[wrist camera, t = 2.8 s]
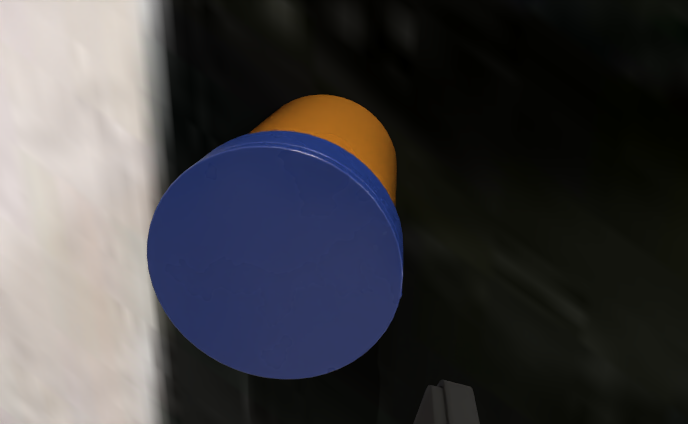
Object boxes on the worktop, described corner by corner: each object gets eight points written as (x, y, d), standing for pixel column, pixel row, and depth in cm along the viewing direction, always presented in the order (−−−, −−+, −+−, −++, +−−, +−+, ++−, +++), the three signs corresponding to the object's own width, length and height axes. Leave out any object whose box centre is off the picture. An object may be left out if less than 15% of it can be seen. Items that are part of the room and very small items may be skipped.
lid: (435, 166, 15) (439, 186, 13) (372, 367, 17) (369, 405, 15) (187, 102, 15) (159, 115, 13) (162, 312, 17) (135, 345, 16)
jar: (414, 115, 22) (421, 187, 13) (376, 249, 25) (361, 384, 16) (266, 78, 22) (177, 124, 14) (242, 214, 25) (153, 330, 16)
